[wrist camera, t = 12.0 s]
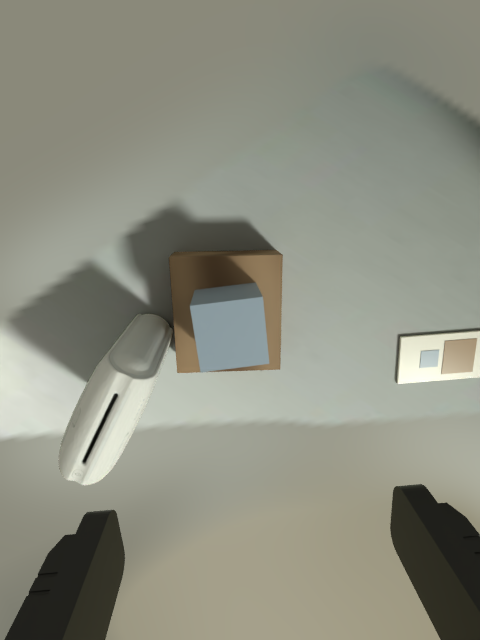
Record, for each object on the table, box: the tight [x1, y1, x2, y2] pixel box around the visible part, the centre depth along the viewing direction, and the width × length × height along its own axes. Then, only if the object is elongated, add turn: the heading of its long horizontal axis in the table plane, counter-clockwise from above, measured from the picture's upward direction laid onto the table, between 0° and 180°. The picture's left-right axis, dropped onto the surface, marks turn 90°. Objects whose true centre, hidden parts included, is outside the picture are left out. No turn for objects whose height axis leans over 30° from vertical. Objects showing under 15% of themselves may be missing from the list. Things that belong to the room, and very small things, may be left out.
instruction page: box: [397, 330, 480, 384], centre depth 36 cm, size 9×5×1 cm, turn 94°
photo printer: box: [59, 314, 173, 485], centre depth 29 cm, size 10×4×12 cm, turn 152°
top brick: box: [190, 282, 269, 372], centre depth 27 cm, size 5×5×5 cm
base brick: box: [169, 250, 283, 373], centre depth 32 cm, size 9×10×4 cm
